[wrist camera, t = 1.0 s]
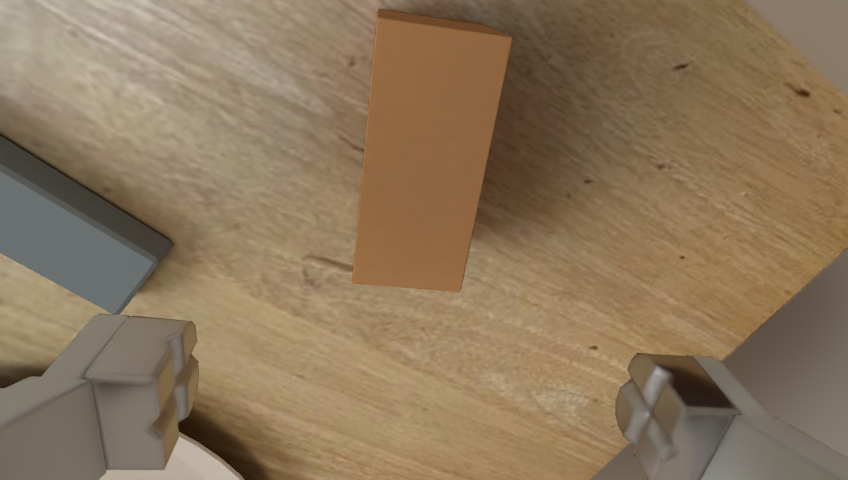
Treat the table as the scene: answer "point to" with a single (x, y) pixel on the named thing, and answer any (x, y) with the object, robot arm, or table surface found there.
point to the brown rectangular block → (426, 148)
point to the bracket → (72, 233)
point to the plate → (182, 465)
